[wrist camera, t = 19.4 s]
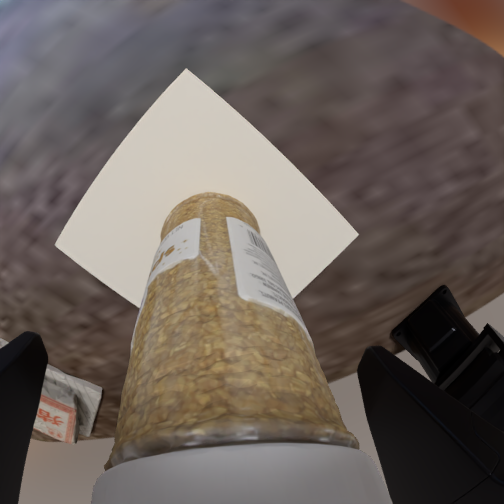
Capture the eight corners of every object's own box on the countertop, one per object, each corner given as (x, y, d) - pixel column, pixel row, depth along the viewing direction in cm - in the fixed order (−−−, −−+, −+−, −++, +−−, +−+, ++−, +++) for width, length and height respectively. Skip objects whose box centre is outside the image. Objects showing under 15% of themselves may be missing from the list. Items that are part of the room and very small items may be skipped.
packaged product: (-49, 390, 19) (-66, 334, 16) (-33, 363, 24) (-43, 306, 20) (85, 460, 25) (95, 424, 21) (92, 426, 29) (105, 384, 26)
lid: (353, 230, 16) (358, 234, 15) (223, 353, 18) (223, 360, 17) (187, 70, 12) (186, 68, 11) (59, 240, 14) (54, 245, 13)
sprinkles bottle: (150, 201, 13) (8, 560, 1) (253, 181, 14) (474, 523, 1) (175, 291, 15) (162, 601, 3) (267, 274, 15) (379, 570, 3)
